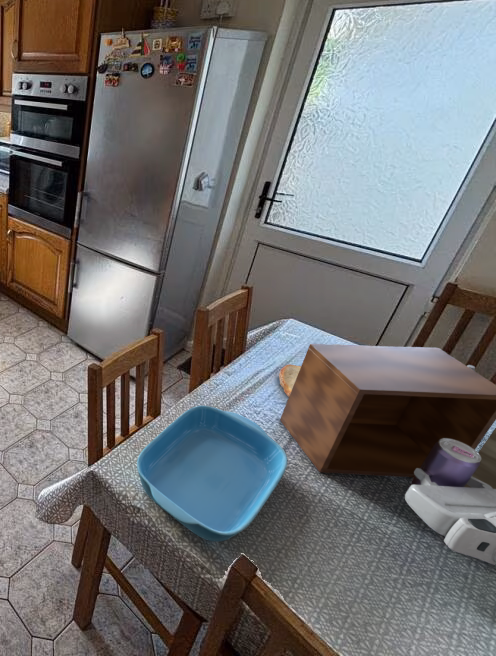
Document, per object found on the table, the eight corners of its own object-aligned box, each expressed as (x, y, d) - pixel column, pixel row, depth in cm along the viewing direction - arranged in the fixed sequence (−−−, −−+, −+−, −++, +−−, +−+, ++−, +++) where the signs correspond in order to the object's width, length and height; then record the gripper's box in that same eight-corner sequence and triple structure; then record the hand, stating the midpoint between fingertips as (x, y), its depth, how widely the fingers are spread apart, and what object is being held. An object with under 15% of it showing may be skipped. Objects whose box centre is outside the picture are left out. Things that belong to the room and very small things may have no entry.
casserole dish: (218, 579, 74) (228, 556, 71) (114, 492, 90) (118, 469, 87) (292, 469, 95) (302, 447, 92) (197, 413, 111) (202, 393, 108)
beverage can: (443, 522, 80) (481, 468, 74) (402, 500, 85) (435, 448, 78) (447, 503, 84) (484, 451, 77) (407, 483, 88) (439, 432, 82)
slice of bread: (322, 422, 107) (327, 411, 106) (256, 380, 122) (260, 370, 121) (362, 401, 114) (367, 391, 112) (295, 364, 129) (299, 354, 127)
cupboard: (453, 480, 92) (512, 395, 81) (319, 472, 94) (360, 389, 83) (395, 425, 106) (438, 347, 96) (279, 419, 108) (310, 343, 98)
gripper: (593, 534, 67) (503, 462, 79) (458, 526, 69) (390, 457, 81) (571, 557, 70) (487, 485, 82) (440, 549, 71) (377, 479, 84)
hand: (438, 471), depth 82 cm, fingers closed on beverage can, 6 cm apart
